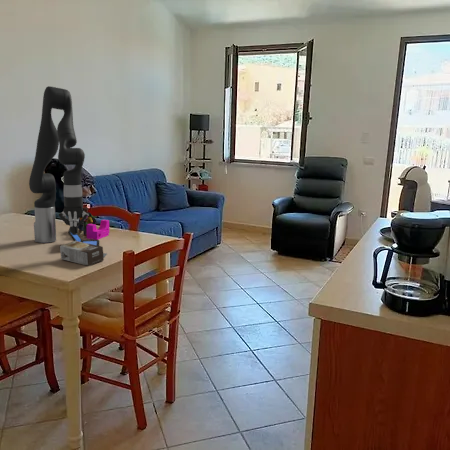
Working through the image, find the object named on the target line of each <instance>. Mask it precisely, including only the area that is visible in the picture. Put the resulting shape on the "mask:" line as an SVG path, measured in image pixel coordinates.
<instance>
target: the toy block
mask: <svg viewBox="0 0 450 450" xmlns="http://www.w3.org/2000/svg"><path fill="white" fill-rule="evenodd" d="M86 229H87V238H86V240H101V239H104V238H105V237H108V236H109V234H110V219H101V220H100V225H99V227H98V228H97V223H95V224H88V225H87V226H86Z"/></svg>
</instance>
